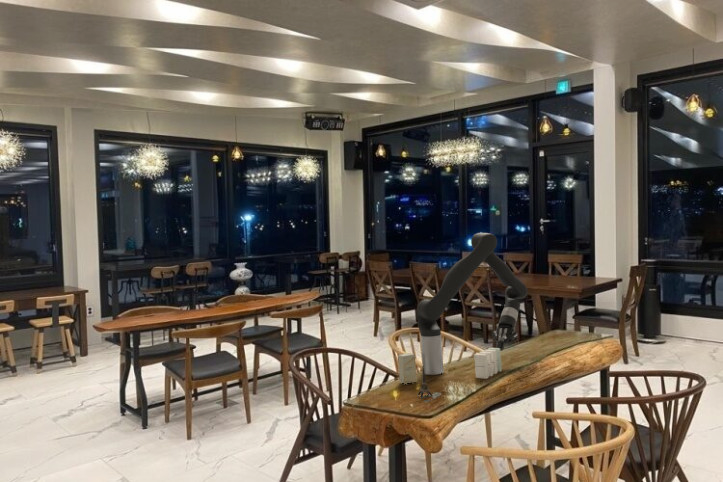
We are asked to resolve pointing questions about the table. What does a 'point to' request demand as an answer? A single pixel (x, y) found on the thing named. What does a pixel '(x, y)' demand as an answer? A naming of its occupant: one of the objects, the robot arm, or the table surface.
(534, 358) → the table surface
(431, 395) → the eiffel tower figurine
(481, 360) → the ivory domino
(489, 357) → the ivory domino
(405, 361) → the skincare box
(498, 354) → the sage domino
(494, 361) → the ivory domino
